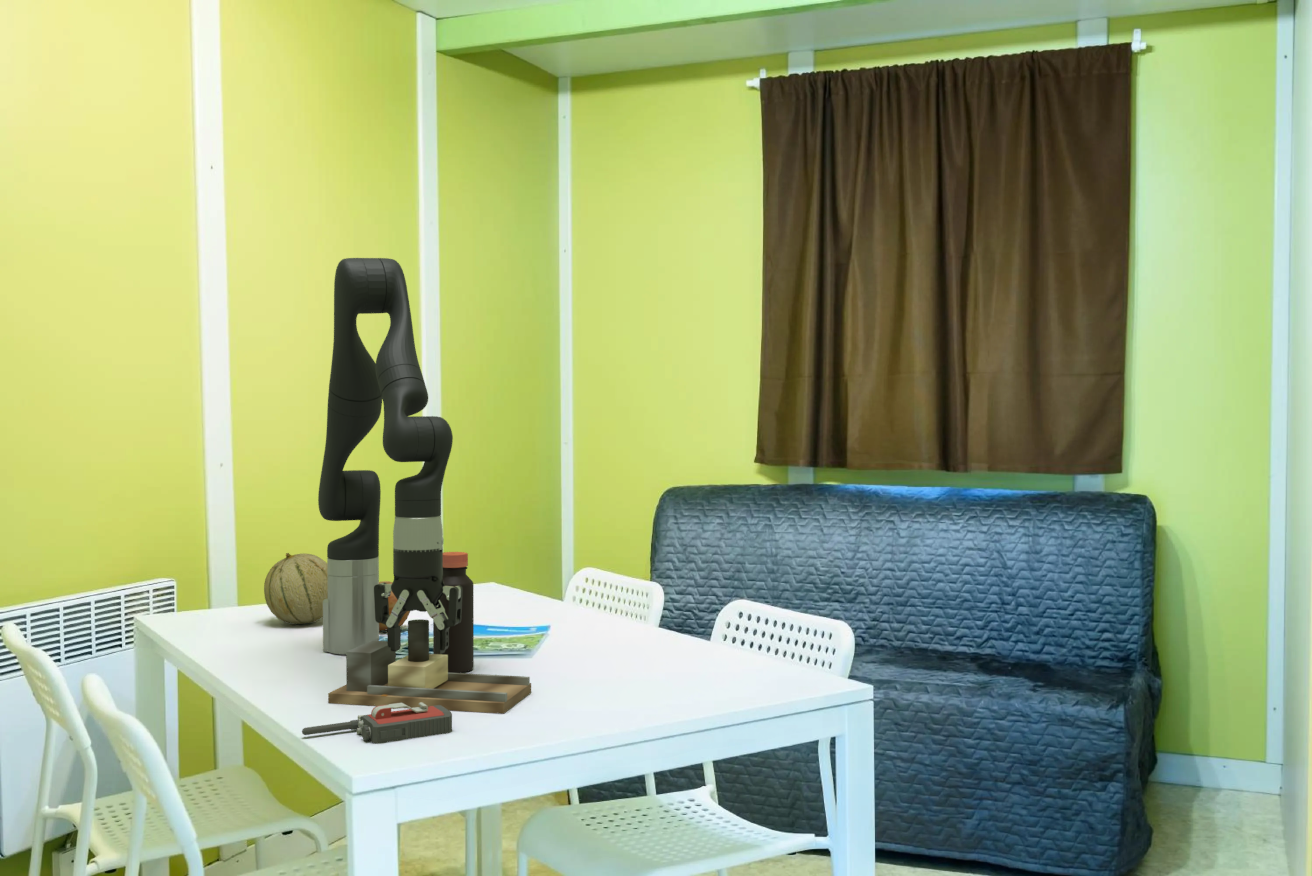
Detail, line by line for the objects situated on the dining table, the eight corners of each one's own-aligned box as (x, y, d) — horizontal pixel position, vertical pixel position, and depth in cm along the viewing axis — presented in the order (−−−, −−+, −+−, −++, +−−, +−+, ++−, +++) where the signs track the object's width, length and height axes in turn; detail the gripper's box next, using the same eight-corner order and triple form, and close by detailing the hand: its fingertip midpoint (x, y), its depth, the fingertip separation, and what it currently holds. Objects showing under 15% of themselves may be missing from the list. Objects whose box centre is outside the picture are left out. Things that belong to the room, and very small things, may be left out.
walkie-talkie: (439, 720, 171) (300, 739, 160) (439, 689, 170) (299, 707, 160) (462, 734, 163) (317, 756, 153) (462, 703, 163) (317, 722, 153)
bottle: (440, 675, 197) (439, 556, 196) (428, 667, 203) (428, 552, 202) (478, 671, 200) (478, 554, 199) (466, 664, 206) (466, 550, 205)
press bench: (328, 703, 178) (328, 654, 178) (366, 683, 191) (366, 637, 191) (503, 713, 172) (503, 662, 172) (531, 692, 185) (531, 645, 185)
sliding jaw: (388, 691, 178) (387, 625, 178) (412, 678, 187) (412, 615, 187) (425, 693, 177) (425, 627, 177) (447, 679, 186) (447, 617, 186)
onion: (421, 628, 238) (421, 579, 238) (388, 637, 229) (388, 586, 229) (384, 624, 243) (384, 576, 242) (350, 632, 234) (350, 582, 234)
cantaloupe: (353, 621, 246) (352, 550, 245) (297, 633, 233) (296, 558, 233) (304, 615, 253) (304, 545, 253) (248, 625, 241) (247, 552, 241)
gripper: (364, 546, 179) (364, 654, 180) (452, 549, 176) (452, 659, 177) (385, 541, 187) (385, 645, 187) (470, 543, 184) (470, 649, 184)
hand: (418, 651), depth 182 cm, fingers open, 7 cm apart
